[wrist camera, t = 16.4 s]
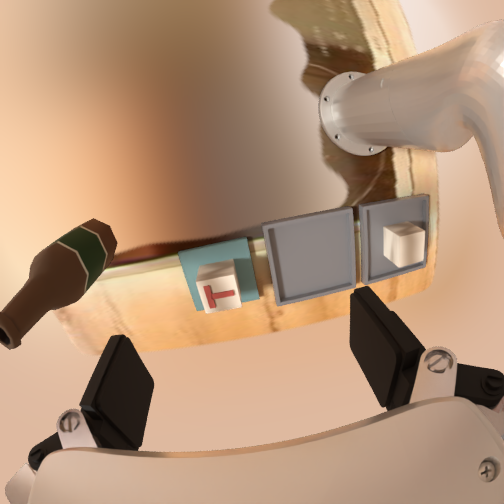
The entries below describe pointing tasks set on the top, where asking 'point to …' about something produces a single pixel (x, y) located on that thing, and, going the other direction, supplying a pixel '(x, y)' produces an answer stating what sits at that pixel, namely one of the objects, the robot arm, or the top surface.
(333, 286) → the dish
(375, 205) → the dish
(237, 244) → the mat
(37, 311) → the beer bottle
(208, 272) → the letter cube
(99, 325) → the top surface
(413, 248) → the plain cube
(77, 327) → the top surface
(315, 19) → the top surface
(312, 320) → the top surface
